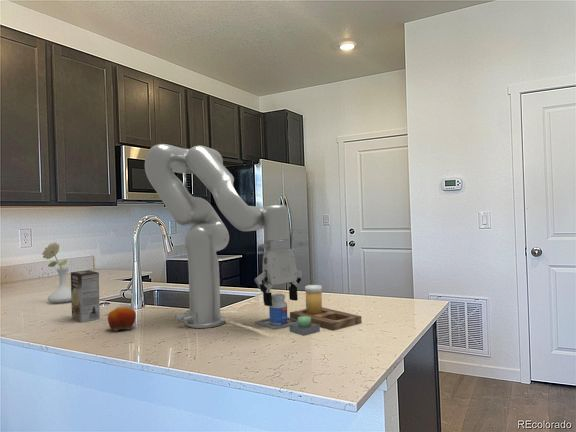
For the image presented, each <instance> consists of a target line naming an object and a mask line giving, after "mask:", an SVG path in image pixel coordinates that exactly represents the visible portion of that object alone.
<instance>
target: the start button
mask: <svg viewBox="0 0 576 432" xmlns="http://www.w3.org/2000/svg"><path fill="white" fill-rule="evenodd" d="M298 325H299V326H310V325H311V317H309V316H300V317H298Z"/></svg>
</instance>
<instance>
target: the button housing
mask: <svg viewBox="0 0 576 432" xmlns="http://www.w3.org/2000/svg"><path fill="white" fill-rule="evenodd" d="M293 323H294V322H293ZM289 324H290V323H289ZM289 326H290V327H289V332H291V333H294V334H298V335H300V336H307V335H310V334H312V335H313V334H315V333H318V332H320V331H321V327H320V325H319V324H315V323H312V322H311V325H310V326H299V325H298V323H294V324H290V325H289Z"/></svg>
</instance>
